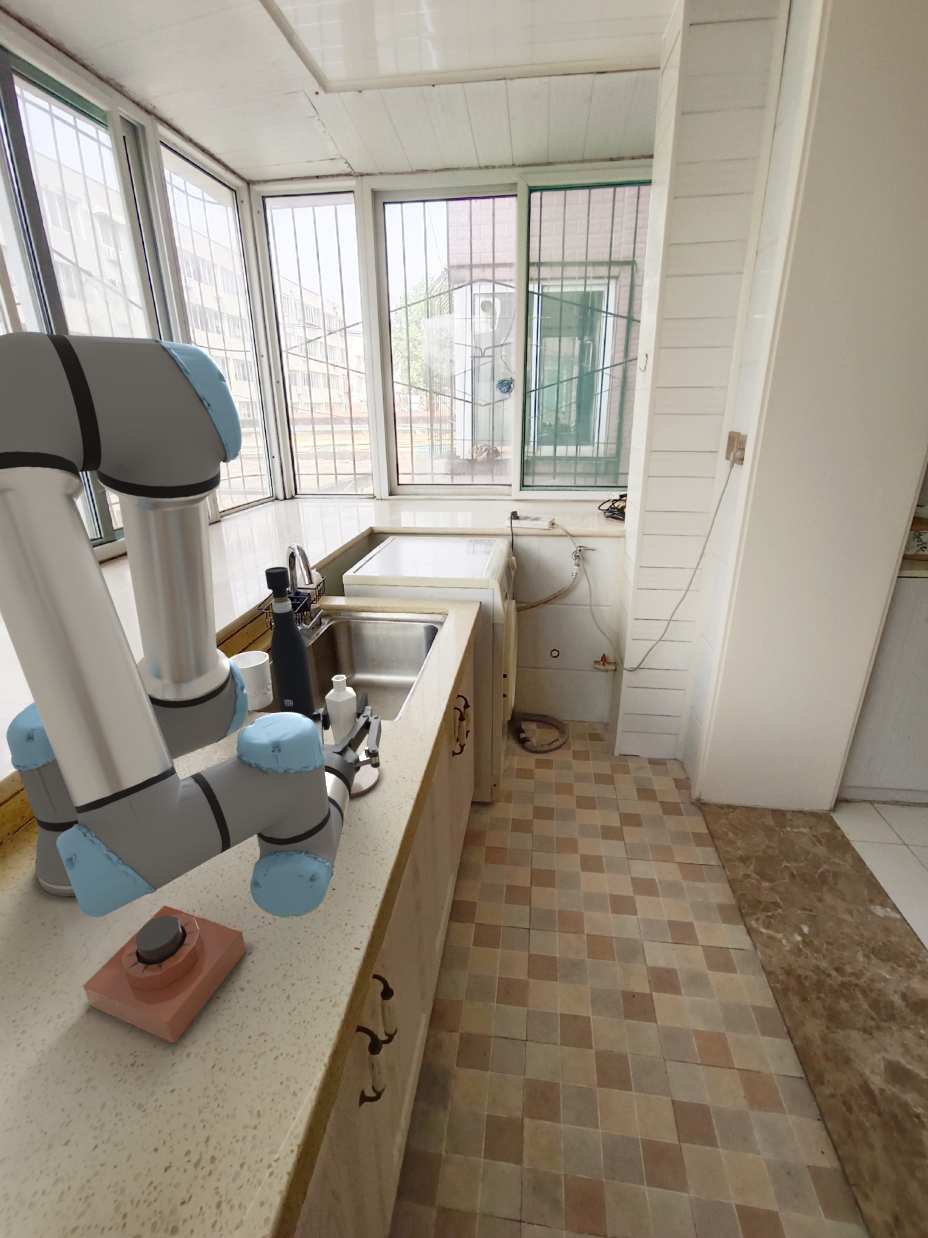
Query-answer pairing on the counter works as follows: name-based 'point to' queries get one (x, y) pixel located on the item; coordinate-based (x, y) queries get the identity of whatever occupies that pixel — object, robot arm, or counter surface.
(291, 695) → the black water bottle
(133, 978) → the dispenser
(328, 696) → the perfume bottle
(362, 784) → the coaster
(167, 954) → the dark grey disc
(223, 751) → the counter surface
